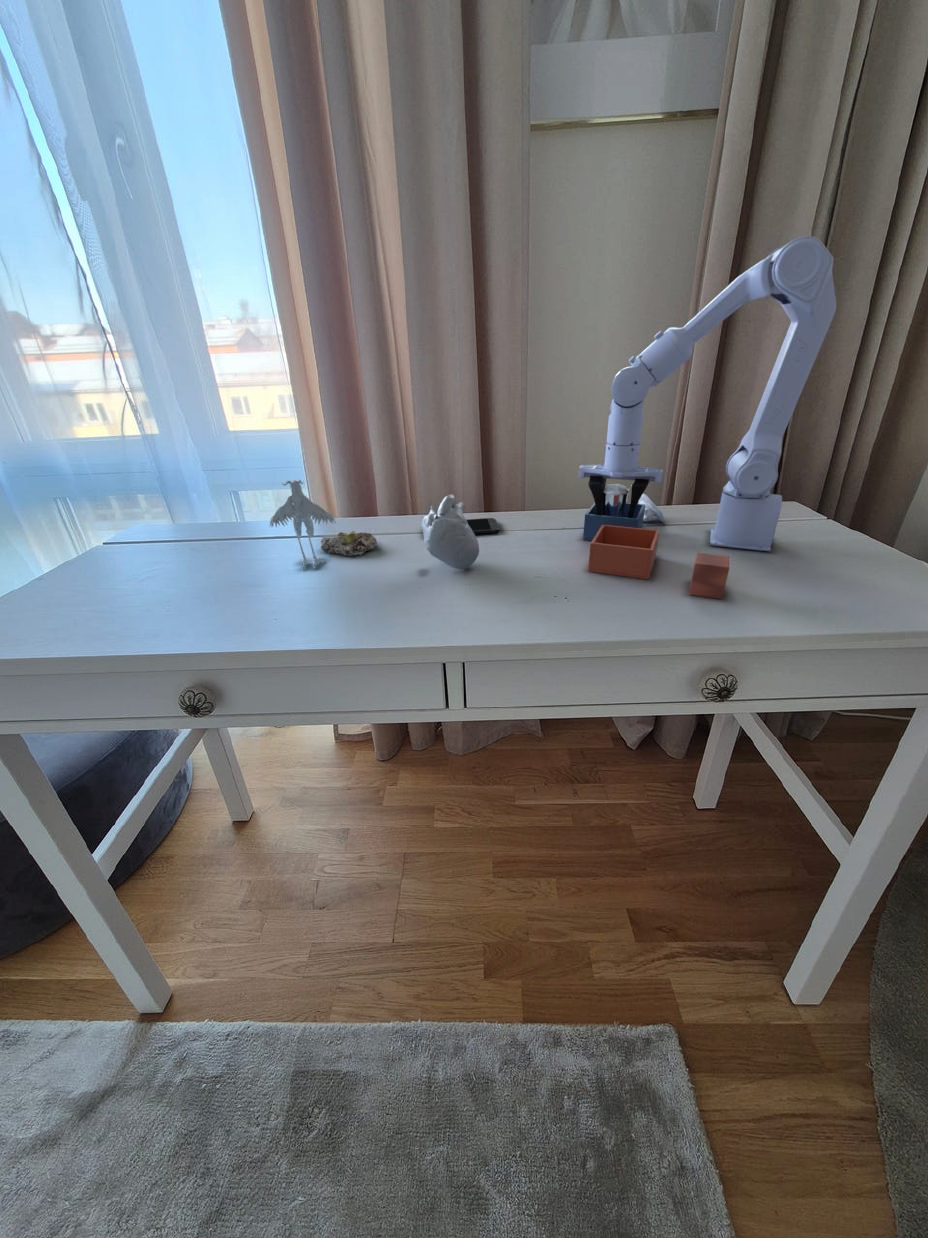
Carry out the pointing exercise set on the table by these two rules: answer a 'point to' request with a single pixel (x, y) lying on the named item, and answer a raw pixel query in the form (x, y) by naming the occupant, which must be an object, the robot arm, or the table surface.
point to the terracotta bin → (623, 551)
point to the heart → (450, 534)
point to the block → (709, 575)
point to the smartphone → (483, 525)
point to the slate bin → (611, 520)
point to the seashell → (650, 509)
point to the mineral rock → (349, 543)
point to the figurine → (301, 515)
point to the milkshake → (615, 500)
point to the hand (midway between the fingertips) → (614, 517)
